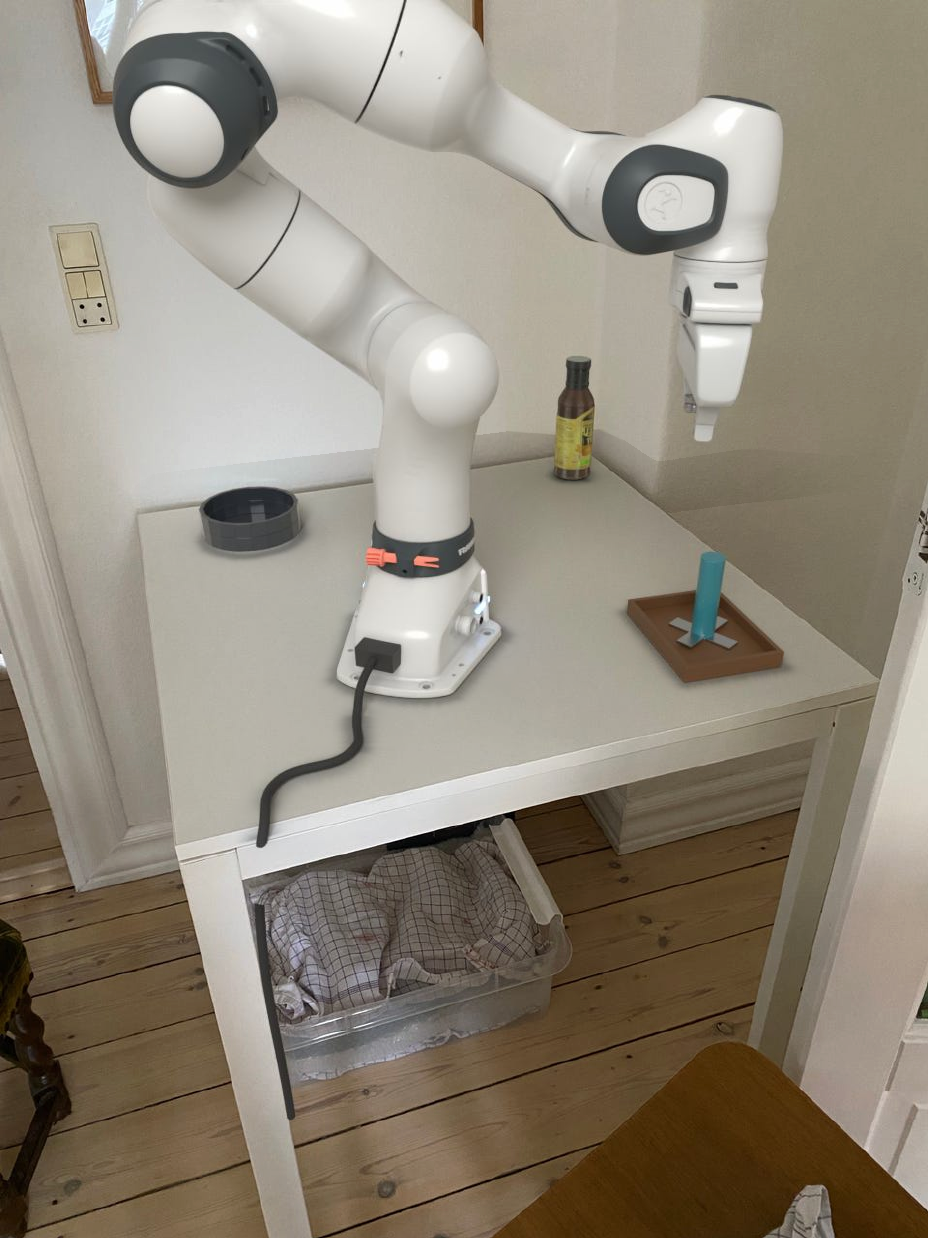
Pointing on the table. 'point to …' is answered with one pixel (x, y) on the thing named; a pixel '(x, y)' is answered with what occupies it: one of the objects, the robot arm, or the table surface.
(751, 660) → the tray
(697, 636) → the teal rod with crossbar
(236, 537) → the bowl
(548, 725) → the table surface
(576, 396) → the sauce bottle
